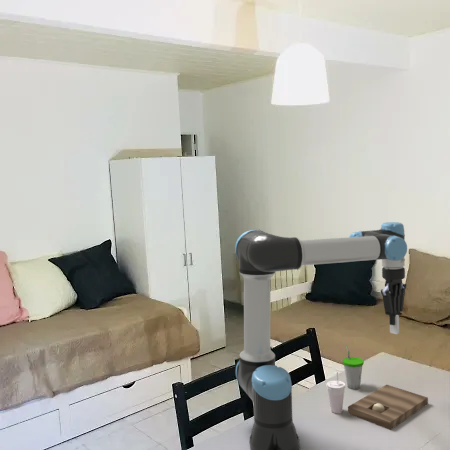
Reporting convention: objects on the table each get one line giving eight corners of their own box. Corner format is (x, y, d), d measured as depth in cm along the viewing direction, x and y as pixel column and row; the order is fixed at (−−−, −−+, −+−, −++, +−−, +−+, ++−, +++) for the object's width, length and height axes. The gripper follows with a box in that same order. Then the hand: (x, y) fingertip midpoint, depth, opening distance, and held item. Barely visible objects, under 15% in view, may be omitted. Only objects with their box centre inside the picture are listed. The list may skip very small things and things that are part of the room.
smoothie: (346, 415, 174) (345, 375, 173) (327, 414, 176) (325, 375, 174) (345, 407, 181) (344, 368, 179) (327, 406, 182) (325, 367, 180)
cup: (365, 391, 192) (364, 352, 190) (343, 391, 193) (342, 352, 192) (363, 382, 200) (362, 345, 198) (342, 382, 201) (341, 345, 199)
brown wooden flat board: (390, 429, 164) (390, 422, 163) (348, 413, 176) (347, 406, 175) (427, 404, 179) (427, 397, 179) (386, 391, 191) (386, 384, 191)
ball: (379, 412, 170) (384, 402, 172) (368, 408, 173) (374, 399, 175) (383, 420, 172) (388, 410, 174) (372, 416, 175) (378, 406, 177)
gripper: (392, 271, 172) (394, 340, 174) (413, 265, 180) (414, 330, 183) (373, 268, 178) (374, 335, 180) (393, 262, 186) (394, 326, 189)
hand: (394, 333), depth 182 cm, fingers closed
